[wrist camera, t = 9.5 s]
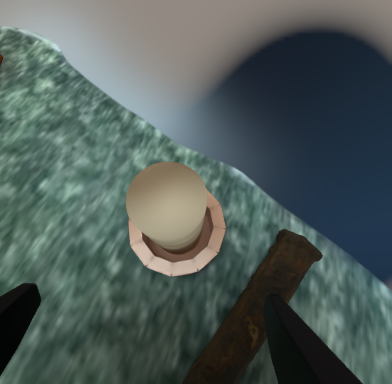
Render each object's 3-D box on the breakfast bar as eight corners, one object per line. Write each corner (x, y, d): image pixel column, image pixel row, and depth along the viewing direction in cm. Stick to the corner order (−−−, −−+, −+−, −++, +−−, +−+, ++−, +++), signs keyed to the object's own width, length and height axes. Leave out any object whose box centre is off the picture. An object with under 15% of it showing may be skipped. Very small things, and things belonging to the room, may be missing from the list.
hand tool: (275, 231, 22) (294, 220, 18) (308, 258, 22) (337, 254, 17) (138, 405, 17) (120, 449, 13) (174, 451, 16) (167, 514, 12)
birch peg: (208, 242, 21) (221, 216, 11) (166, 262, 20) (142, 253, 11) (189, 202, 22) (187, 150, 13) (149, 220, 21) (115, 179, 12)
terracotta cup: (237, 237, 22) (245, 230, 18) (172, 295, 20) (168, 300, 16) (185, 179, 24) (184, 163, 20) (122, 227, 22) (108, 218, 18)
